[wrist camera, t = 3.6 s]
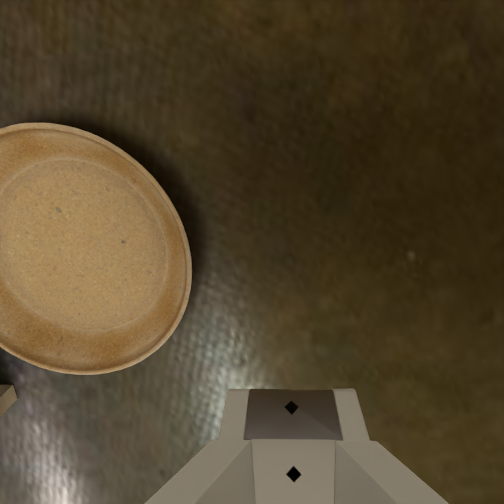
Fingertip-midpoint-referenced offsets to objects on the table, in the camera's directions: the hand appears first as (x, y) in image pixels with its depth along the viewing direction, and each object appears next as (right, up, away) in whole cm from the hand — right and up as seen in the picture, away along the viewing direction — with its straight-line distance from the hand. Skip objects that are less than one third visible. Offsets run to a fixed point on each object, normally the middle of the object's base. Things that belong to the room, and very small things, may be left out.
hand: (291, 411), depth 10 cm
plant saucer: (-11, +4, +15) cm, 19 cm away
